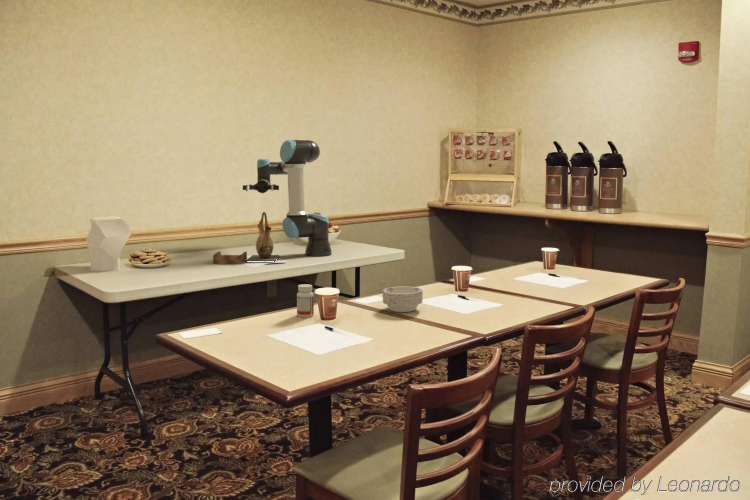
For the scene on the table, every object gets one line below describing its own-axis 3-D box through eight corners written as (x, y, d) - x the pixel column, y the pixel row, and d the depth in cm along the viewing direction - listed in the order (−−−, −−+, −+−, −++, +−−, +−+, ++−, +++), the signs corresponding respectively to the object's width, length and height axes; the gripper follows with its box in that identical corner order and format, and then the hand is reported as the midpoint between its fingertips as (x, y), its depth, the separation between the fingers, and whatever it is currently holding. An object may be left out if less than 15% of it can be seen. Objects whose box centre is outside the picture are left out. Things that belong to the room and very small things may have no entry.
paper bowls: (381, 305, 266) (381, 285, 265) (419, 305, 267) (420, 285, 266) (383, 314, 251) (383, 293, 250) (424, 314, 252) (425, 293, 251)
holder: (247, 259, 370) (246, 251, 369) (242, 263, 357) (242, 255, 357) (218, 259, 370) (218, 251, 369) (213, 263, 357) (212, 255, 357)
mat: (279, 257, 380) (279, 254, 380) (274, 262, 362) (274, 260, 362) (252, 256, 380) (252, 254, 380) (246, 262, 362) (246, 260, 362)
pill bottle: (306, 312, 254) (305, 283, 252) (317, 315, 249) (317, 285, 248) (293, 315, 249) (293, 285, 247) (304, 318, 245) (304, 287, 243)
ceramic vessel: (277, 259, 365) (277, 212, 361) (261, 260, 361) (260, 213, 357) (267, 255, 379) (267, 210, 376) (252, 255, 375) (251, 210, 372)
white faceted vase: (87, 273, 328) (84, 220, 324) (87, 264, 352) (84, 215, 349) (133, 270, 336) (130, 219, 332) (130, 262, 361) (127, 214, 357)
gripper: (284, 192, 399) (282, 195, 378) (241, 192, 397) (237, 195, 376) (284, 179, 398) (282, 181, 377) (240, 179, 396) (236, 181, 375)
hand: (259, 188), depth 377 cm, fingers open, 13 cm apart
